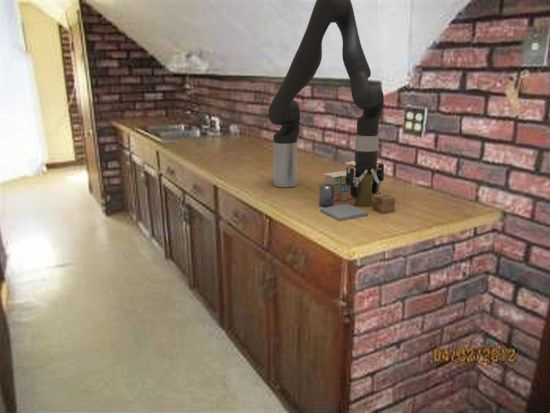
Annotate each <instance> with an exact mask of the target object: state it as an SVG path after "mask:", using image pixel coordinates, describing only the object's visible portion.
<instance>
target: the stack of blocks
mask: <svg viewBox="0 0 550 413" xmlns="http://www.w3.org/2000/svg"><path fill="white" fill-rule="evenodd" d="M382 162H383V161H380V160H377V163H381V164H383V163H382ZM377 163H376V164H377ZM348 167H350V168H354V167H355V160H353V161H345V163H344V170H342V171H341V170H340V171H334V172H327V173H326V172H325V173H324V174H323V175H324V176H323V184H332V185H334V203H338V202H343V201H349V200H355V199H354V197H352V195H351V186H349V185H347V184H346V173H347V168H348ZM355 173H356V172H355ZM375 173H376V175H377V170H375ZM355 182H356V181H355ZM372 183H373V182H371V189H372ZM381 186H382V181H380V182H379V184H378V192H377V195H379V194H381ZM357 190H358V185H357ZM374 195H376V194H373V193H372V196H374Z"/></svg>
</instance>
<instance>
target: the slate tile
mask: <svg viewBox="0 0 550 413" xmlns="http://www.w3.org/2000/svg"><path fill="white" fill-rule="evenodd" d="M319 211H320V213H323V214H324V215H327V216H328V217H330V218H333V219H334V218H335V220H336V219H337V221H338V220H339V221H338V222H342V220H343V221H346V220H352V219H357V218H361V217H367V216H369V212H368V211H365V210H364V209H361V208H359V207H356V206H354V205H352V204H349V203H343V204H338V205H334V206H332V207H326V208H324V207H320V209H319Z"/></svg>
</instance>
